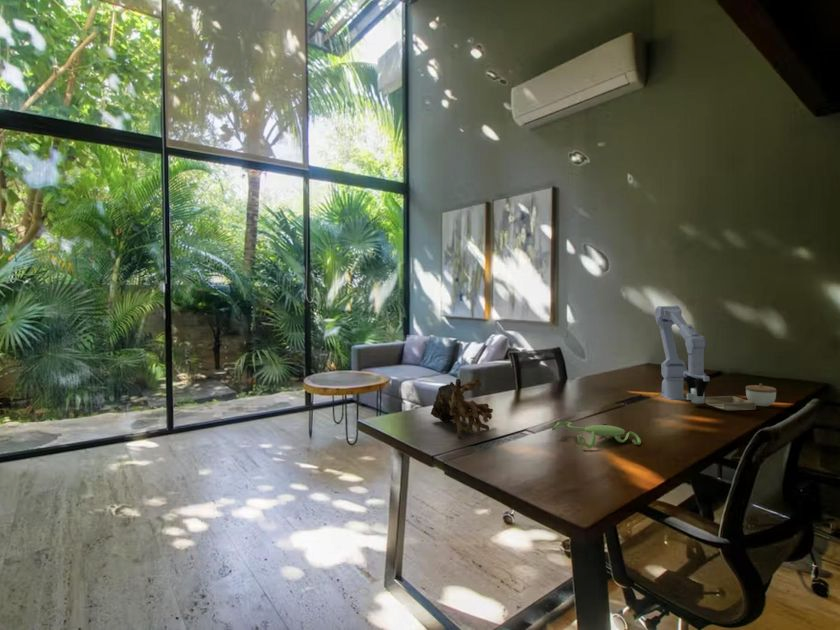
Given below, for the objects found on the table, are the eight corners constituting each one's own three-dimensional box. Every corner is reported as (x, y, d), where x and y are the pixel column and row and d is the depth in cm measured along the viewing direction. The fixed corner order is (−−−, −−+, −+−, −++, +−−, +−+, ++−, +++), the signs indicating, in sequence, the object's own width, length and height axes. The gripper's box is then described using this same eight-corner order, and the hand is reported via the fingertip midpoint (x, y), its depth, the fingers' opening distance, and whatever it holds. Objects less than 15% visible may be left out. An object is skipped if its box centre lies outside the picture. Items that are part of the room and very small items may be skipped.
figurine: (547, 436, 161) (546, 420, 161) (613, 429, 167) (612, 414, 166) (575, 453, 143) (574, 436, 143) (647, 445, 149) (647, 428, 148)
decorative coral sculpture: (455, 395, 194) (512, 391, 173) (444, 447, 184) (503, 450, 163) (414, 371, 180) (470, 364, 159) (399, 427, 170) (457, 427, 149)
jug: (684, 401, 197) (683, 388, 197) (700, 400, 197) (699, 387, 197) (691, 404, 192) (690, 390, 192) (707, 403, 192) (706, 389, 192)
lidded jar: (765, 402, 200) (765, 381, 200) (782, 408, 189) (782, 386, 189) (740, 402, 201) (740, 381, 201) (755, 408, 190) (755, 386, 190)
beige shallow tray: (703, 403, 200) (703, 396, 200) (732, 402, 201) (732, 395, 201) (725, 411, 187) (725, 403, 187) (755, 410, 187) (755, 403, 187)
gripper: (716, 366, 187) (716, 398, 188) (694, 361, 202) (694, 391, 202) (700, 366, 187) (700, 398, 187) (678, 361, 201) (678, 391, 202)
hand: (695, 394), depth 195 cm, fingers closed on jug, 5 cm apart
